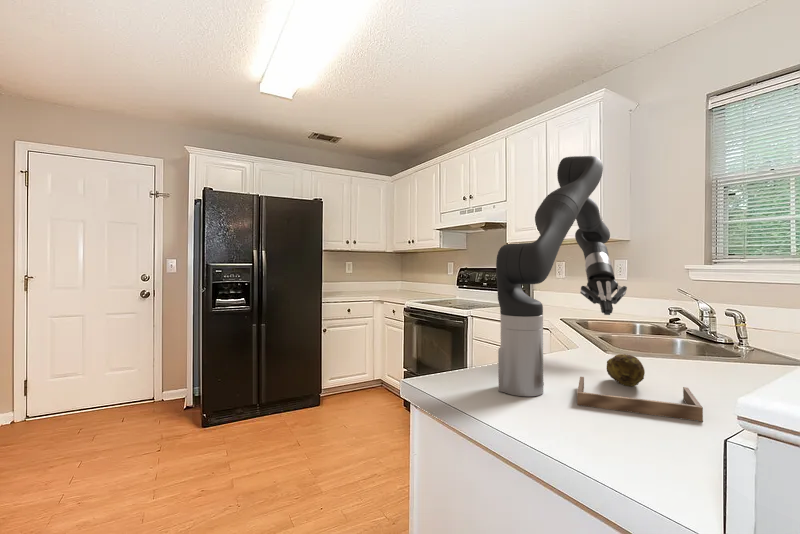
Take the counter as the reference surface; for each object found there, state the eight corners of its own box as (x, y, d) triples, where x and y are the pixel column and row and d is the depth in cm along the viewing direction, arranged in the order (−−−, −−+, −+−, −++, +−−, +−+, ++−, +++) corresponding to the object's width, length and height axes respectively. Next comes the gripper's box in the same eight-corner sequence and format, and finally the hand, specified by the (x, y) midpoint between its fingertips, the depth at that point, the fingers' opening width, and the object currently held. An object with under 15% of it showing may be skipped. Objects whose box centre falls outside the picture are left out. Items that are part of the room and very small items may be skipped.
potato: (646, 382, 98) (646, 349, 98) (644, 396, 87) (643, 359, 87) (608, 377, 102) (607, 345, 102) (601, 390, 91) (600, 354, 91)
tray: (577, 405, 82) (577, 392, 82) (580, 387, 94) (580, 376, 94) (702, 421, 72) (702, 407, 72) (688, 399, 85) (687, 387, 85)
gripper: (577, 261, 126) (583, 304, 114) (624, 260, 122) (636, 305, 110) (575, 278, 131) (581, 320, 119) (620, 278, 127) (631, 322, 115)
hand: (607, 313), depth 115 cm, fingers closed
